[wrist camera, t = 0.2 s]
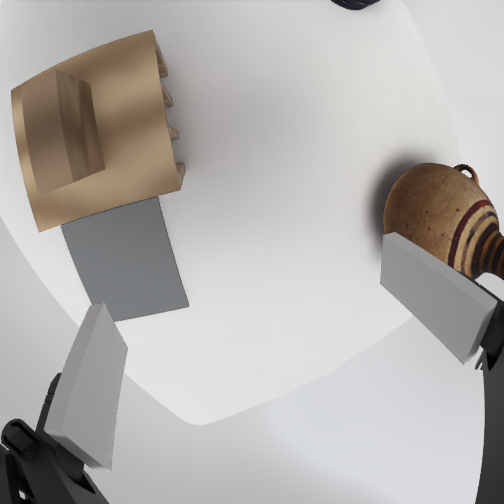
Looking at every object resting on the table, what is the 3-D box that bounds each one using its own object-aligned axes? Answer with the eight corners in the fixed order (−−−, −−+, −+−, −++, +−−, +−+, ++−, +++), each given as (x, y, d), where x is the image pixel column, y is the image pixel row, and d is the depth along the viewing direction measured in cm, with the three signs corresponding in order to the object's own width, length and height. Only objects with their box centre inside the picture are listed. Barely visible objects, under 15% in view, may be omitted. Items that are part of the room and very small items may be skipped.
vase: (414, 132, 40) (566, 165, 13) (447, 204, 47) (561, 263, 20) (336, 210, 43) (490, 315, 16) (383, 276, 50) (490, 376, 23)
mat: (62, 224, 34) (60, 225, 34) (157, 196, 36) (157, 197, 36) (102, 322, 42) (102, 324, 41) (188, 304, 44) (189, 306, 43)
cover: (66, 101, 28) (-32, 85, 8) (166, 67, 29) (139, -6, 10) (86, 198, 34) (2, 262, 15) (185, 171, 36) (174, 210, 16)
